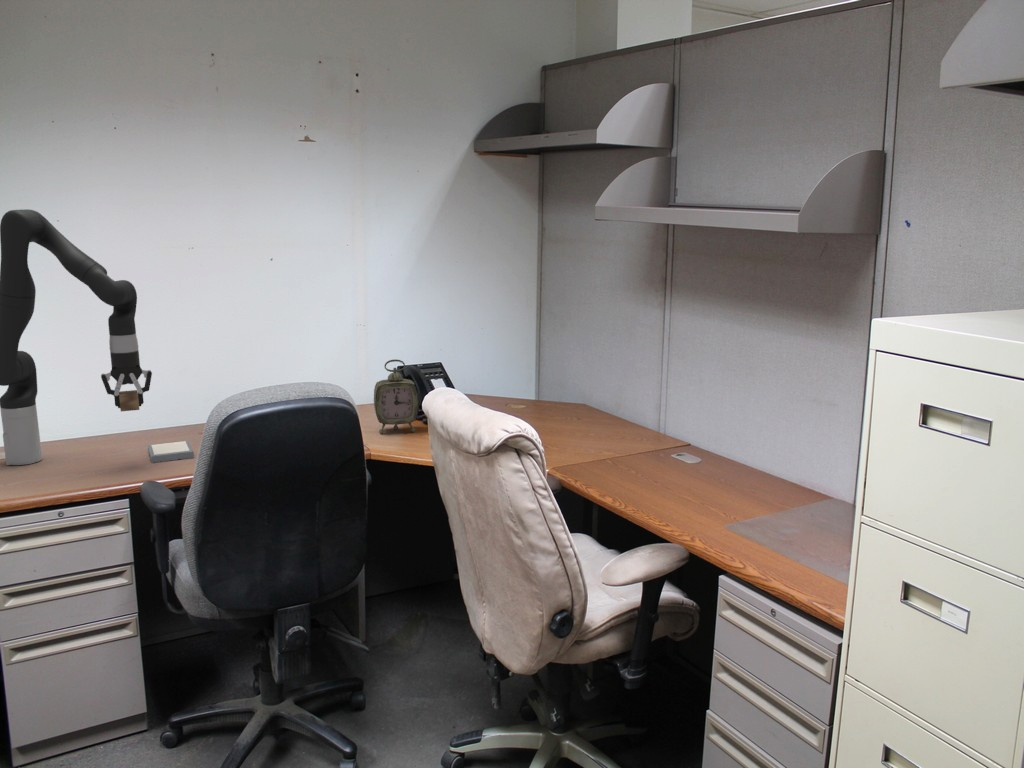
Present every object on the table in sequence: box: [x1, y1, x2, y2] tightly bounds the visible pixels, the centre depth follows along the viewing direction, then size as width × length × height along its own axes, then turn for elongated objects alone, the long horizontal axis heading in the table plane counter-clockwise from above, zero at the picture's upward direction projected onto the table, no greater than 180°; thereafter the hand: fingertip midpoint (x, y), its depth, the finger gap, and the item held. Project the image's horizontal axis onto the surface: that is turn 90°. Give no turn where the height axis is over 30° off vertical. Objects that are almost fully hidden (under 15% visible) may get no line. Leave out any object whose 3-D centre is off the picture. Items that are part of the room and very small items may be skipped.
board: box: [147, 440, 195, 463], centre depth 260 cm, size 12×14×2 cm
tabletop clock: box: [373, 359, 419, 435], centre depth 286 cm, size 14×9×25 cm, turn 104°
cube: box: [119, 389, 140, 412], centre depth 247 cm, size 5×5×5 cm
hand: (129, 406), depth 247 cm, fingers closed on cube, 5 cm apart
